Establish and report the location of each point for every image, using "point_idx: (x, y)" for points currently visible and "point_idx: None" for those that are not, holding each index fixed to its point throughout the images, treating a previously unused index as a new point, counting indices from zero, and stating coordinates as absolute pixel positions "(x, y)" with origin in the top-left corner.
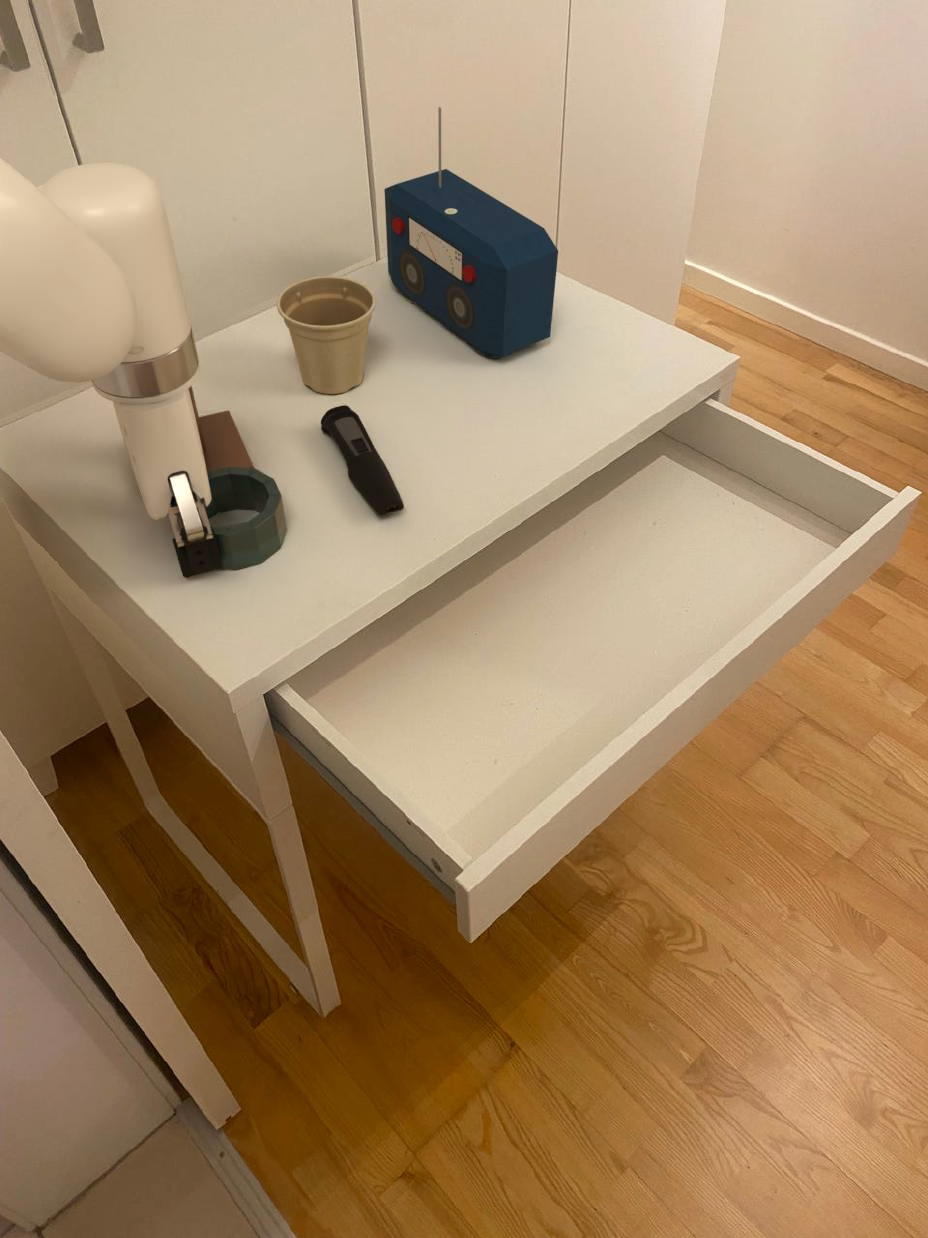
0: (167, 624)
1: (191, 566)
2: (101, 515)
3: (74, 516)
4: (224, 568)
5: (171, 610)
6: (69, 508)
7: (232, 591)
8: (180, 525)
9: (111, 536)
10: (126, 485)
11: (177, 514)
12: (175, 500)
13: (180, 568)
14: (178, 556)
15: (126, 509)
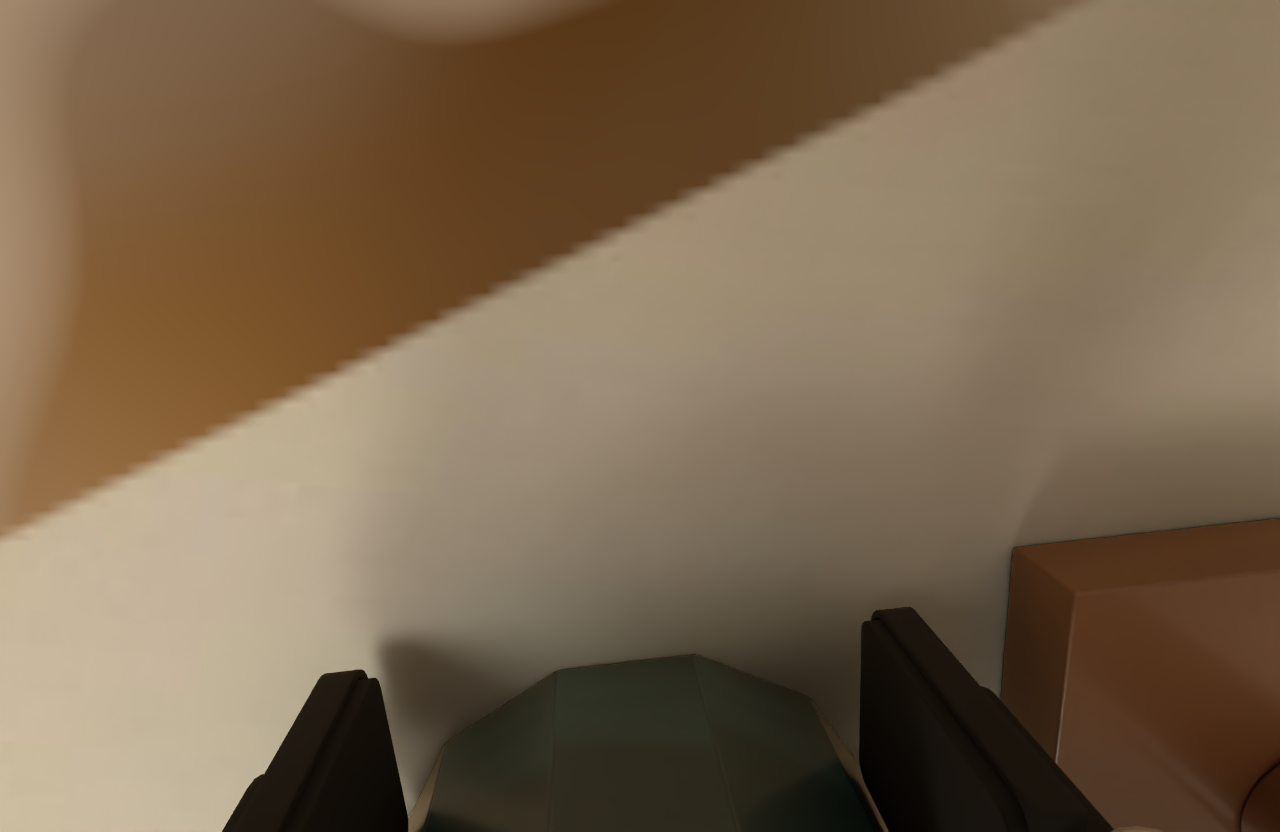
0: (61, 525)
1: (236, 811)
2: (1055, 254)
3: (1122, 90)
4: (414, 807)
5: (169, 552)
6: (1207, 64)
7: None
8: (703, 724)
9: (856, 295)
10: (1231, 411)
11: (715, 797)
12: (897, 746)
13: (344, 692)
14: (247, 809)
15: (1041, 395)
